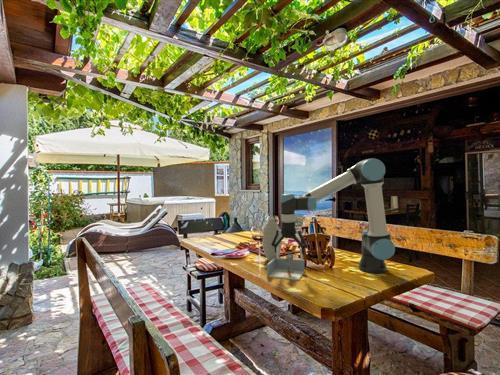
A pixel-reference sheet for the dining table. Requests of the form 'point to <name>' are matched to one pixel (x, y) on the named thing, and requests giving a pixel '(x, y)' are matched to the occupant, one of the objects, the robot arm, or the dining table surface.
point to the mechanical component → (289, 262)
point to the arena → (285, 269)
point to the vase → (271, 239)
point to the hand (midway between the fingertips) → (289, 259)
